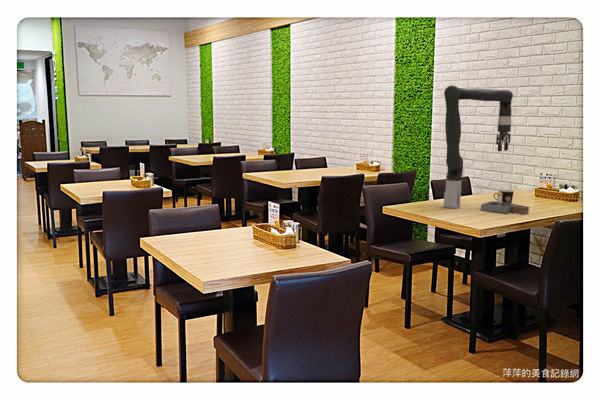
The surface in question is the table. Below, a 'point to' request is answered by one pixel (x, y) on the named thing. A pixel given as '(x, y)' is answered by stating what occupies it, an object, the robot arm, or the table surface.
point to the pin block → (520, 209)
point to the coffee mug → (506, 196)
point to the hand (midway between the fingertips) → (502, 150)
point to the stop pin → (499, 199)
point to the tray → (497, 207)
